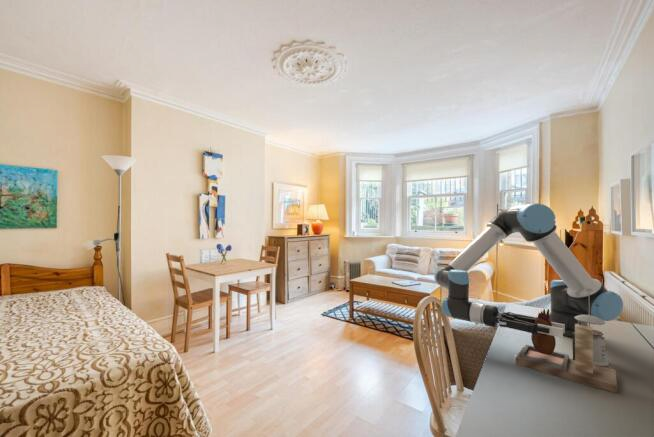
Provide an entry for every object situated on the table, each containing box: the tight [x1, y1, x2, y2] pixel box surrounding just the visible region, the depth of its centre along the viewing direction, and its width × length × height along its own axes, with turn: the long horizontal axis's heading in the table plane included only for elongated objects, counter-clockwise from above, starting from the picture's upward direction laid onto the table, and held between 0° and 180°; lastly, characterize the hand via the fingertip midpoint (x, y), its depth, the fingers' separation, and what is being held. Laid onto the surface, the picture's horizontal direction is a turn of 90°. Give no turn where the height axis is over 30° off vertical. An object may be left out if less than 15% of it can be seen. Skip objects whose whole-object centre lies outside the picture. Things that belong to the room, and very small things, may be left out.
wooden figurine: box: [531, 308, 556, 355], centre depth 96 cm, size 7×6×15 cm
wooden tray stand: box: [515, 324, 618, 394], centre depth 93 cm, size 24×13×15 cm, turn 46°
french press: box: [571, 288, 610, 367], centre depth 102 cm, size 10×12×25 cm
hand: (563, 330), depth 93 cm, fingers closed on wooden figurine, 5 cm apart
